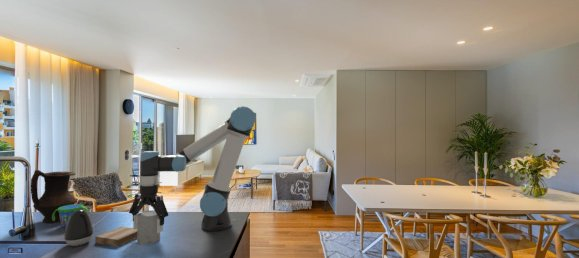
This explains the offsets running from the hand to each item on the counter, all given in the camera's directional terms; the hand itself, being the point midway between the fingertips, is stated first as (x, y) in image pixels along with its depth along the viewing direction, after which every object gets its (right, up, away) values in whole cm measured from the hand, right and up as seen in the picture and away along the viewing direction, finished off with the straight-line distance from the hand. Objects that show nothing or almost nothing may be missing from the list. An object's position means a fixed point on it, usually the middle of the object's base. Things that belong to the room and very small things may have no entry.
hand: (148, 230), depth 122 cm
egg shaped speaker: (-29, -5, -4) cm, 29 cm away
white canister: (0, -5, 0) cm, 5 cm away
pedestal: (-14, -5, +1) cm, 15 cm away
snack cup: (-52, -5, +20) cm, 56 cm away
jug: (-69, -5, +28) cm, 74 cm away
